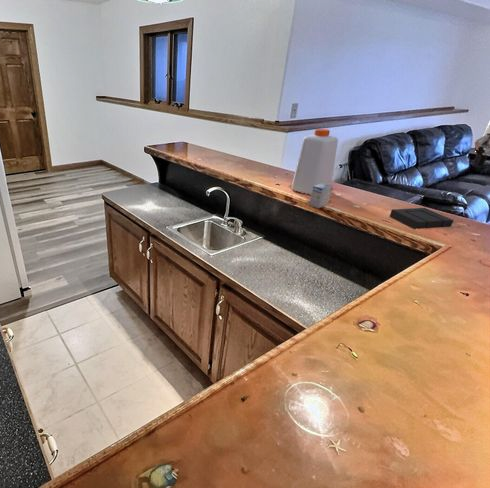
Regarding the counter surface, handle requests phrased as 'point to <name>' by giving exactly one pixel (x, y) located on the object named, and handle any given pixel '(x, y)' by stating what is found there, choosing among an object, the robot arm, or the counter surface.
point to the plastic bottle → (315, 161)
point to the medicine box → (320, 195)
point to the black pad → (427, 219)
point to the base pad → (416, 222)
